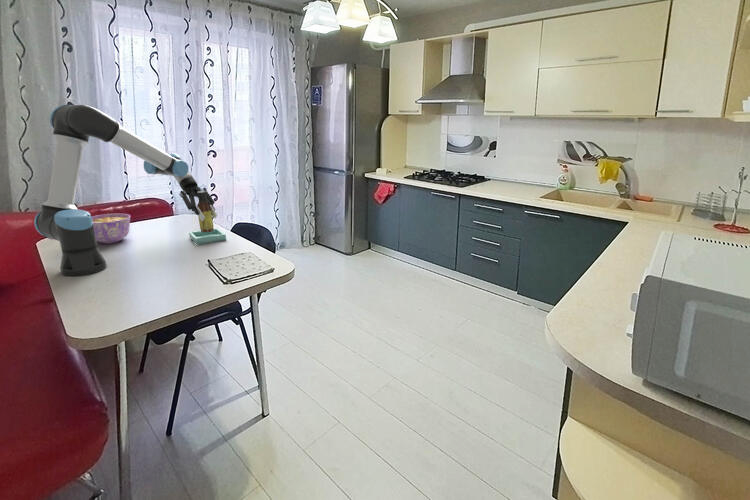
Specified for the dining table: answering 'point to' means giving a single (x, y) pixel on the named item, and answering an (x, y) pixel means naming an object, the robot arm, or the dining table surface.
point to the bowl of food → (111, 227)
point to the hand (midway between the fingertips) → (209, 217)
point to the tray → (207, 236)
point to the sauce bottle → (205, 213)
